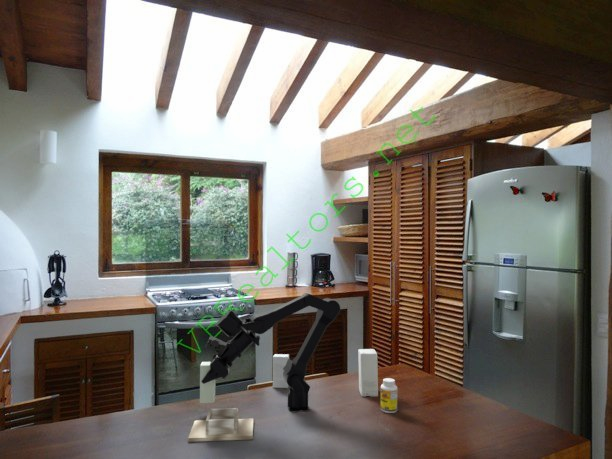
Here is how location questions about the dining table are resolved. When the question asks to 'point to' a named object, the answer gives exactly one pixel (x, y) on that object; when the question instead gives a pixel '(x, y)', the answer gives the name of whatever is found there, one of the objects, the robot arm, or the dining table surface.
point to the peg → (206, 385)
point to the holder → (221, 426)
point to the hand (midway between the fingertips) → (203, 380)
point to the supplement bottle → (389, 396)
